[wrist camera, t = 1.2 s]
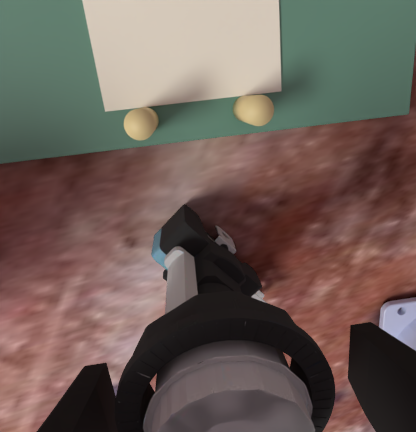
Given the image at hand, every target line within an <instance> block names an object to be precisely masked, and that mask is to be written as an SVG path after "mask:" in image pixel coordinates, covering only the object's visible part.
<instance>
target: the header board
mask: <svg viewBox="0 0 416 432" xmlns="http://www.w3.org/2000/svg"><path fill="white" fill-rule="evenodd" d="M415 46H416V0H0V164H2V163H10V162H19V161H27V160H35V159H43V158H52V157H60V156H68V155H76V154H85V153H93V152H101V151H109V150H118V149H126V148H134V147H142V146H151V145H159V144H167V143H175V142H184V141H192V140H200V139H208V138H217V137H225V136H233V135H241V134H249V133H258V132H266V131H274V130H282V129H291V128H299V127H307V126H315V125H324V124H332V123H340V122H348V121H357V120H365V119H373V118H381V117H390V116H398V115H406V114H409V107H410V97H411V87H412V77H413V66H414V56H415Z"/></svg>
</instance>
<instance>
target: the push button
mask: <svg viewBox="0 0 416 432" xmlns="http://www.w3.org/2000/svg"><path fill="white" fill-rule="evenodd" d="M215 227H216V230H217V234H218V235H219V236H218V238H217V239H216V240H215V239H214V238H213V237H211V236H210V235H209V234H208V233H207V232H206V231H205V229H204V227H203V225H202V222H201V220H200V218H199V216H198V215H197V214H196V213H195V212H194V211H193V210H192V209H191V208H190V207H188V206H187V205H185V204H184V205H183V206H182V207H181V208H180V209H179V210H178V211H177V212H176V213H175V214H174V215H173V216H172V217H171V218H170V219H169V220H168V222H167V223H166V224H165V225H164V226H163V227H162V228H161V229H160V230H159V231H158V232H157V233H156V234H155V235H154V242H153V248H152V257H153V258H154V260H155V261H156V262H157V263H159V264H160V265H161V266H163V267H164V268H165V270H164V272H163V279H165V280H166V281H167V291H166V307H165V315H163V316H162V317H160V318H159V319H157V320H155V321H154V322H152V323H151V324H149V325H148V326H147V327H146V329H145V331H144V333H143V335H142V337H141V339H140V341H139V343H138V345H137V347H136V349H135V351H134V353H133V356H132V357H131V359H130V360H129V362H128V363H127V365H126V367H125V369H124V371H123V373H122V376H121V378H120V381H119V386H118V390H117V395H116V400H115V410H114V414H115V423H116V427H117V431H118V432H322V431H323V430H324V428H325V426H326V424H327V422H328V420H329V418H330V416H331V413H332V409H333V406H334V400H335V383H334V378H333V374H332V371H331V368H330V366H329V364H328V362H327V360H326V358H325V357H324V355H323V353H322V351H321V350H320V348H319V347H318V345H317V344H316V342H315V341H314V340H313V339H312V338H311V337H310V336H309V335H308V334H307V333H306V332H305V331H304V330H302V329H301V328H300V327H298V326H297V325H296V324H295V323H294V322H293V320H292V319H291V317H290V316H289V315H288V313H287V312H286V311H285V310H283V309H281V308H278V307H275V306H273V305H270V304H268V303H266V302H265V301H264V300H263V299H262V298H263V297H264V294H263V293H262V292H261V291H260V290H259V289H261V288H262V285H261V283H260V280H259V278H258V276H257V274H256V272H255V271H254V270H253V269H252V268H251V267H250V266H249V265H248V264H247V263H241V262H240V261H239V260H238V259H237V258H236V256H235V255H234V253H235V252H236V251H237V250H236V249H235V245H234V243H233V240H232V238H231V237H230V236H229V235H228V234H227V233H226V232H224V231H223V230H222V229H221V228H220V227H219V226H217V225H216V226H215ZM223 234H224V235H225V236H226V237H227V238H226V237H225V236H224V235H223ZM256 293H257V294H256ZM283 352H284V353H286V354H288V355H289V356H290V357H291V358H292V359H291V365H290V368H289V366H288V364H287V361H286V359H285V356H284V354H283ZM156 373H157V378H156V390H155V392H154V390H153V389H152V387H151V385H150V381H151V379H152V378H153V377H154V376H155V375H156Z"/></svg>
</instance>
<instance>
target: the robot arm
mask: <svg viewBox="0 0 416 432" xmlns="http://www.w3.org/2000/svg"><path fill="white" fill-rule="evenodd" d="M401 307H402V308H401ZM399 308H401V309H400V310H398V309H399ZM348 379H349V382H350V384H351V386H352V388H353V390H354V392H355V394H356V397H357V399H358V401H359V403H360V405H361V407H362V409H363V411H364V413H365V415H366V416H367V418H368V420H369V421H370V423H371V425H372V426H373V428H374V429H375V431H376V432H416V297H414V298H408V299H401V300H394V301H389V302H386V303H385V304H383V306H382V307H381V312H380V323H379V327H378V326H376V325H374V324H373V323H371V322H368V323H362V324H355V325H351V329H350V348H349V367H348ZM115 400H116V396H115V393H114V389H113V386H112V382H111V378H110V375H109V371H108V367H107V364H106V363H102V364H95V365H89V366H85V367H84V368H83V369H82V370H81V372H80V373H79V374H78V376H77V377H76V379H75V380H74V381H73V383H72V384H71V386H70V387H69V388H68V390H67V391H66V393H65V394H64V395H63V397H62V398H61V400H60V401H59V402H58V404H57V405H56V407H55V408H54V409H53V411H52V412H51V413H50V415H49V416H48V417H47V419H46V420H45V421H44V423H43V424H42V425H41V427H40V428H39V429H38V431H37V432H118V431H117V427H116V423H115V414H114V410H115Z"/></svg>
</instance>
